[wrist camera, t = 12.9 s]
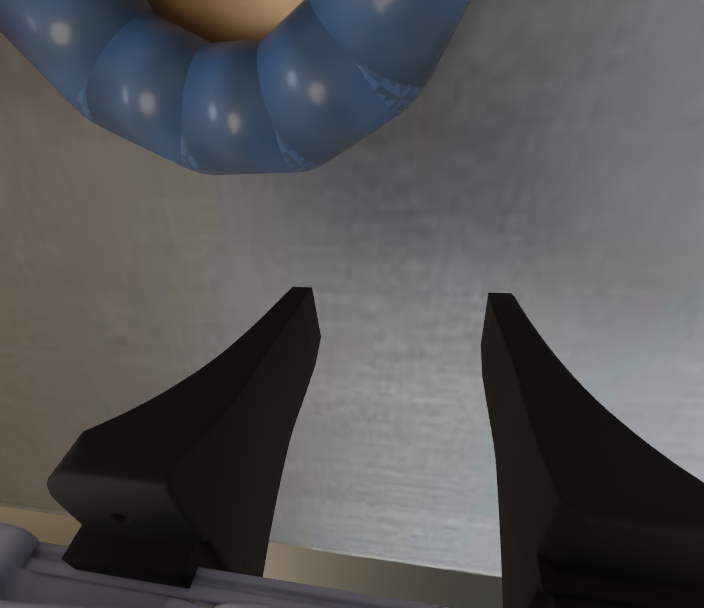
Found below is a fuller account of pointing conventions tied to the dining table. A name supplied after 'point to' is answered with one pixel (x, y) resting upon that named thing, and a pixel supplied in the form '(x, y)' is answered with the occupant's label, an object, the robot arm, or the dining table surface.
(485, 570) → the dining table surface
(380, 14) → the ring
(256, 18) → the stand
